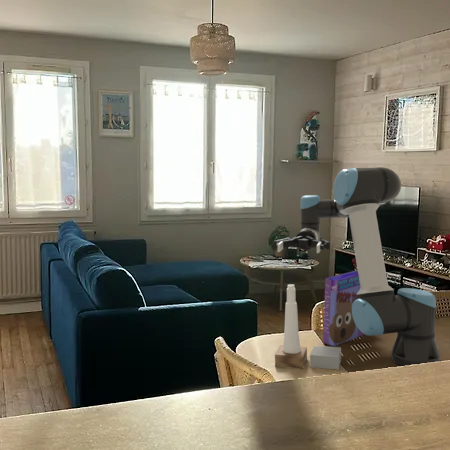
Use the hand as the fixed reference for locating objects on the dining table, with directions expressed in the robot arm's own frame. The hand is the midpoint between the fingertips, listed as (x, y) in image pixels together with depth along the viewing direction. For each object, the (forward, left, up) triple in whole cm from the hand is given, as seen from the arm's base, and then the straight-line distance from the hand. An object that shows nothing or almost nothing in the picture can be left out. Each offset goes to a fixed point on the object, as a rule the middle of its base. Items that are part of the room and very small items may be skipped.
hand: (298, 248), depth 195 cm
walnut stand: (0, +16, -35) cm, 38 cm away
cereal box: (-15, -10, -35) cm, 39 cm away
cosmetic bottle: (0, +16, -31) cm, 35 cm away
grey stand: (-11, +14, -35) cm, 39 cm away
